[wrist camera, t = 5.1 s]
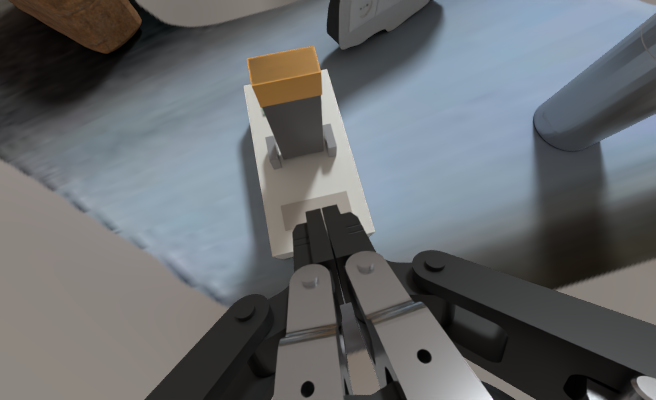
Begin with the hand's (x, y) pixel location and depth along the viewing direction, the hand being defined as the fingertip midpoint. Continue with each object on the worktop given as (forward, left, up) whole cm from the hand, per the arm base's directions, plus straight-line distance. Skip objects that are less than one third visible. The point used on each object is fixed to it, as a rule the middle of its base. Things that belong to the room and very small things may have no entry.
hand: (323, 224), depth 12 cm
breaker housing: (0, -13, -23) cm, 26 cm away
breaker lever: (0, -13, -16) cm, 21 cm away
